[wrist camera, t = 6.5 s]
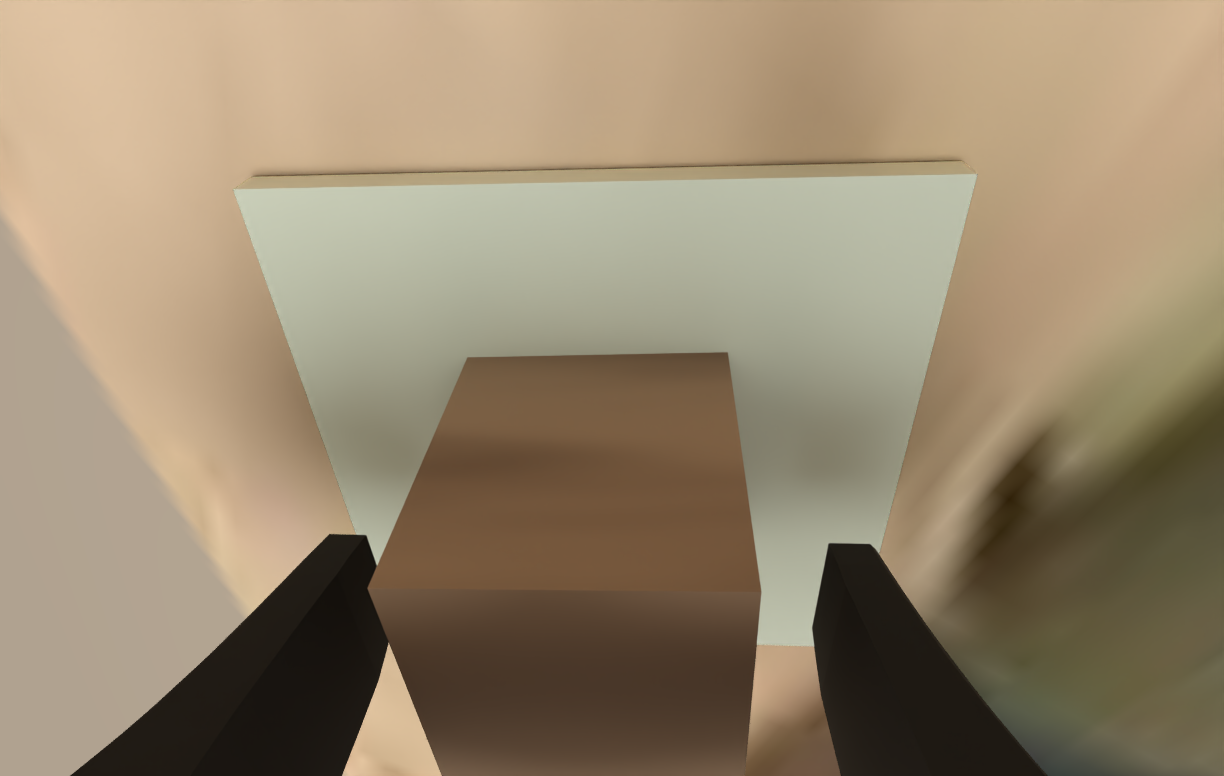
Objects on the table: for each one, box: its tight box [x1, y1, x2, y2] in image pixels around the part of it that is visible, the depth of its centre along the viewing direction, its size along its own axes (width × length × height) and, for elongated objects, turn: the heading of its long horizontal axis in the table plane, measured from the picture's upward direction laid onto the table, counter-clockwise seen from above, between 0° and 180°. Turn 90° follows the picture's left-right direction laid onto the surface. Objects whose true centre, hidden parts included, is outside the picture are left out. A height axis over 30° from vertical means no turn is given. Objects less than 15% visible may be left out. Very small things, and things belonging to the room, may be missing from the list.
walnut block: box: [367, 352, 761, 776], centre depth 11 cm, size 4×4×5 cm
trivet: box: [233, 161, 978, 646], centre depth 14 cm, size 11×11×1 cm
